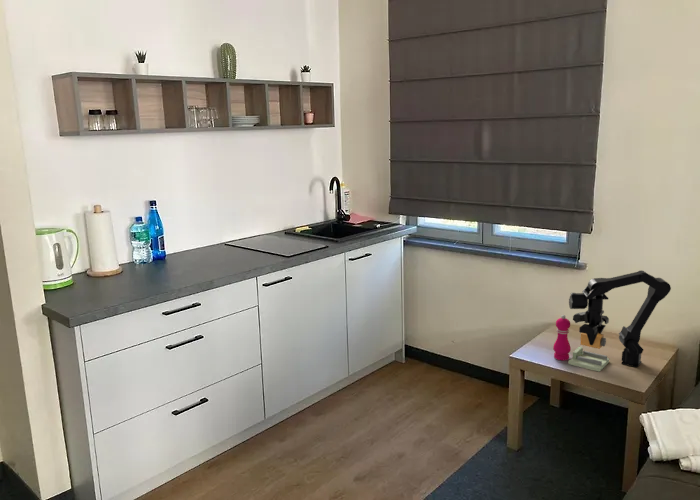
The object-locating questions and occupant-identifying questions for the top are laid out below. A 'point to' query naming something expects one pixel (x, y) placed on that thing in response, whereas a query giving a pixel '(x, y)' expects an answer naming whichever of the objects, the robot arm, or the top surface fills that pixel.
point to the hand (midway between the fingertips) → (593, 343)
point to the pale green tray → (588, 359)
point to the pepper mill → (562, 339)
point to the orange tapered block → (597, 343)
